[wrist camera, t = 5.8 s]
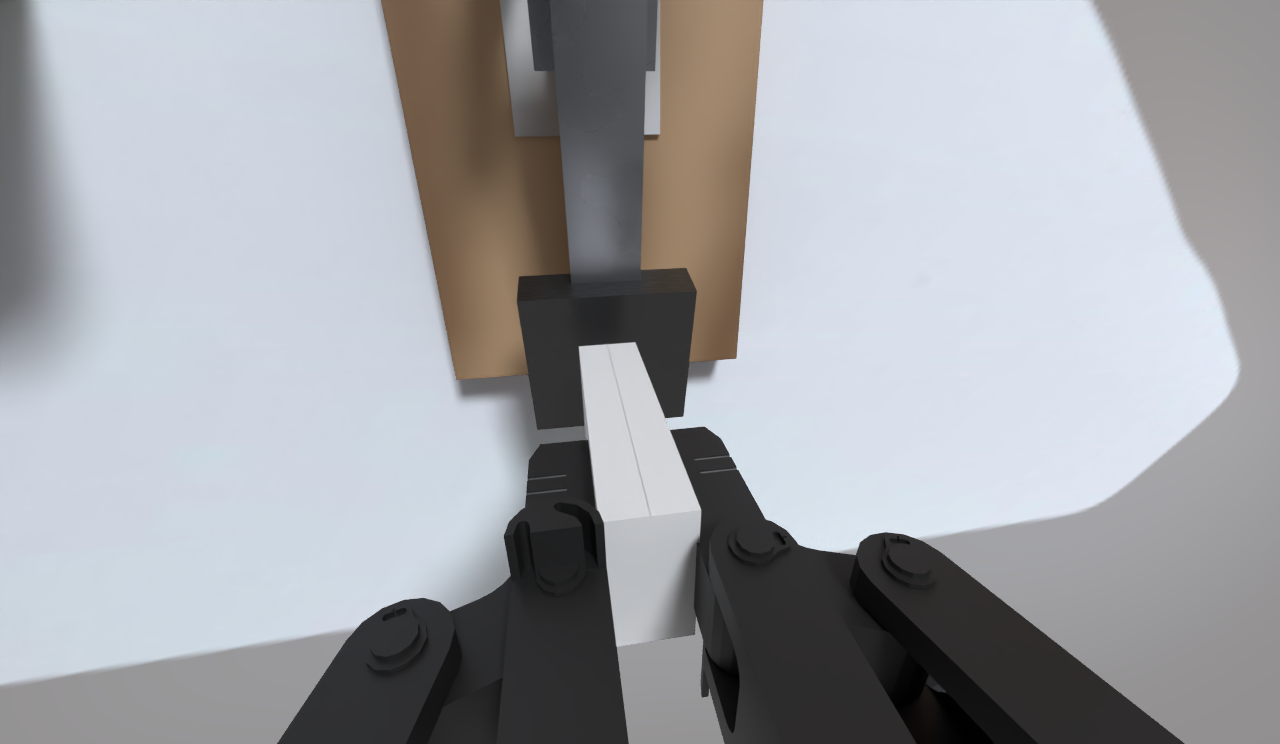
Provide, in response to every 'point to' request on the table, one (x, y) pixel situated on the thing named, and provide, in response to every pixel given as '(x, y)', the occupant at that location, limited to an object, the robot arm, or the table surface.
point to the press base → (532, 163)
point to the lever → (601, 213)
